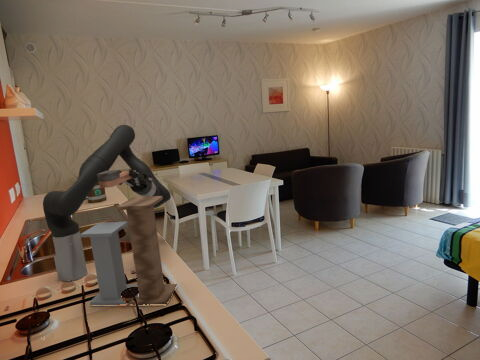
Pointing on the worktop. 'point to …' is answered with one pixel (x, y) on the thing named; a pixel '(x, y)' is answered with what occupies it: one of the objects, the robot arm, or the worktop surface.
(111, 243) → the blue-grey pedestal
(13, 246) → the worktop surface
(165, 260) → the worktop surface
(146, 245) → the cat scratching post
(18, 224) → the worktop surface
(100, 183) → the grey and brown bar
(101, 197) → the mug
